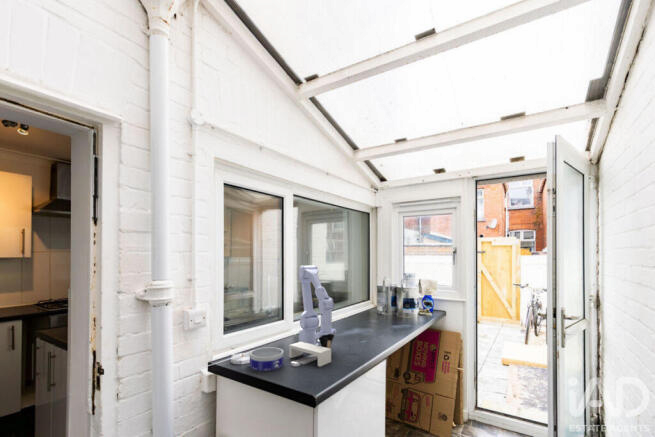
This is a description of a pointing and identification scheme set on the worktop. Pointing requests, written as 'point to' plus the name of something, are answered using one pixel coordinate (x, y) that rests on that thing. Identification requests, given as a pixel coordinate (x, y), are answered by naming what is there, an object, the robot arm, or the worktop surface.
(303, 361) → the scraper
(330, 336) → the robot arm
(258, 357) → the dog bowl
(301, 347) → the small white bench
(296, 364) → the token
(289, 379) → the worktop surface
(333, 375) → the worktop surface
